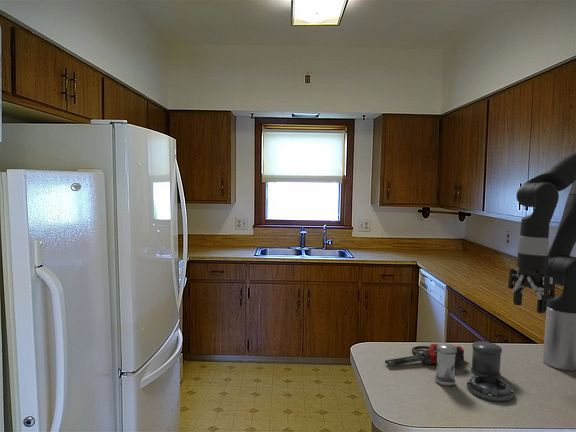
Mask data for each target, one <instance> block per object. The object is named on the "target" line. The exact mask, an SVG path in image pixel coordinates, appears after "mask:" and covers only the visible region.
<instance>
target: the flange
mask: <svg viewBox="0 0 576 432" xmlns="http://www.w3.org/2000/svg"><path fill="white" fill-rule="evenodd" d="M466 381H467V382H466V389H467V390H468V392H469V393H470V394H472V395H473V396H475V397H477V398H479V399H482V400H484V401H488V402H492V403H493V402H495V403H507V402H511V401H512V400H513V399H514V388H513V389H512V387H511V385H510V382H509V383H508V382H507V381H505V380H503V379H501V377H500V378H497V377H494V376H489V375H484V374H483V375H482V374H481V375H471V376H470V379H468V380H466Z"/></svg>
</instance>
